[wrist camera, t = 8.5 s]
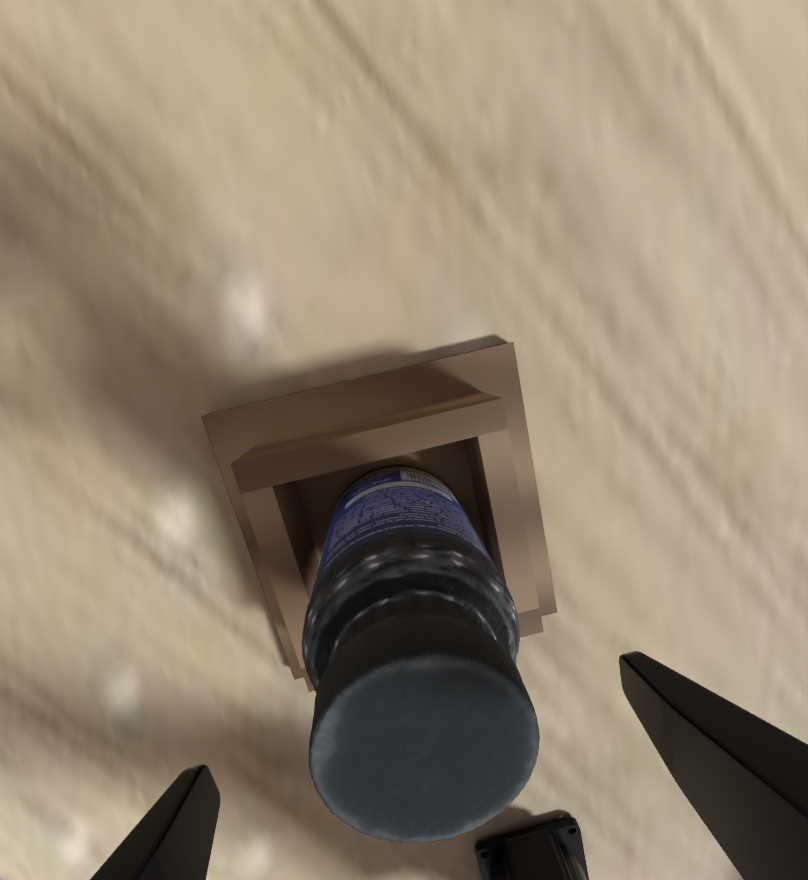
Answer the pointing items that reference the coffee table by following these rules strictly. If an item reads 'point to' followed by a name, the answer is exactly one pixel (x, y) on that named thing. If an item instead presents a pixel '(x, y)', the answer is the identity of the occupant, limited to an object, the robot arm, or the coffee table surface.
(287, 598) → the walnut holder
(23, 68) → the coffee table surface
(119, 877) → the robot arm
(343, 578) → the pill bottle
